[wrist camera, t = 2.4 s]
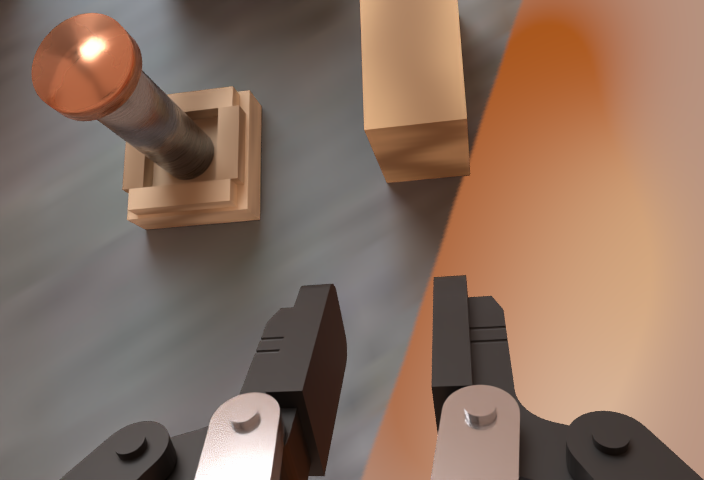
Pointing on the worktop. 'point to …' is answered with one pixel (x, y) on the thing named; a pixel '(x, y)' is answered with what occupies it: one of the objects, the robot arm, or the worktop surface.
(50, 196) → the worktop surface
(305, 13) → the worktop surface
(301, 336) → the robot arm
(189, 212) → the pin block
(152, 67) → the worktop surface
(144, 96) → the pin
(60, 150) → the worktop surface
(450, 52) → the block
